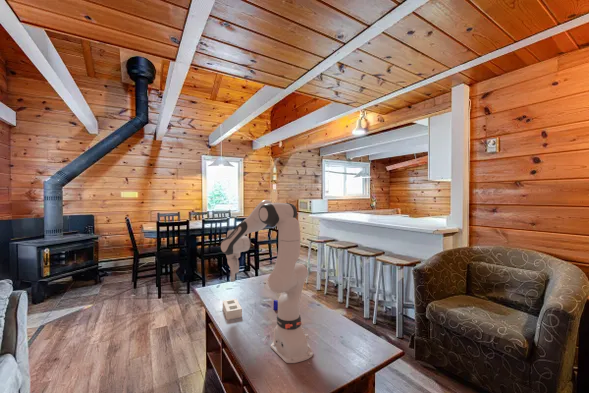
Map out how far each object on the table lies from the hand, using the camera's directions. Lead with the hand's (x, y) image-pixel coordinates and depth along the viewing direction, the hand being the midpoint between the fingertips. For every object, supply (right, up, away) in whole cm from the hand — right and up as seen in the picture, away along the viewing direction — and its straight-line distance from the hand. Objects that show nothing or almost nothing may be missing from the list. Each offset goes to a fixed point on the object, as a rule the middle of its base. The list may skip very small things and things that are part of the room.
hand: (232, 275), depth 164 cm
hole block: (0, -23, -3) cm, 23 cm away
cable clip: (+30, -23, +7) cm, 38 cm away
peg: (0, -4, 0) cm, 4 cm away
